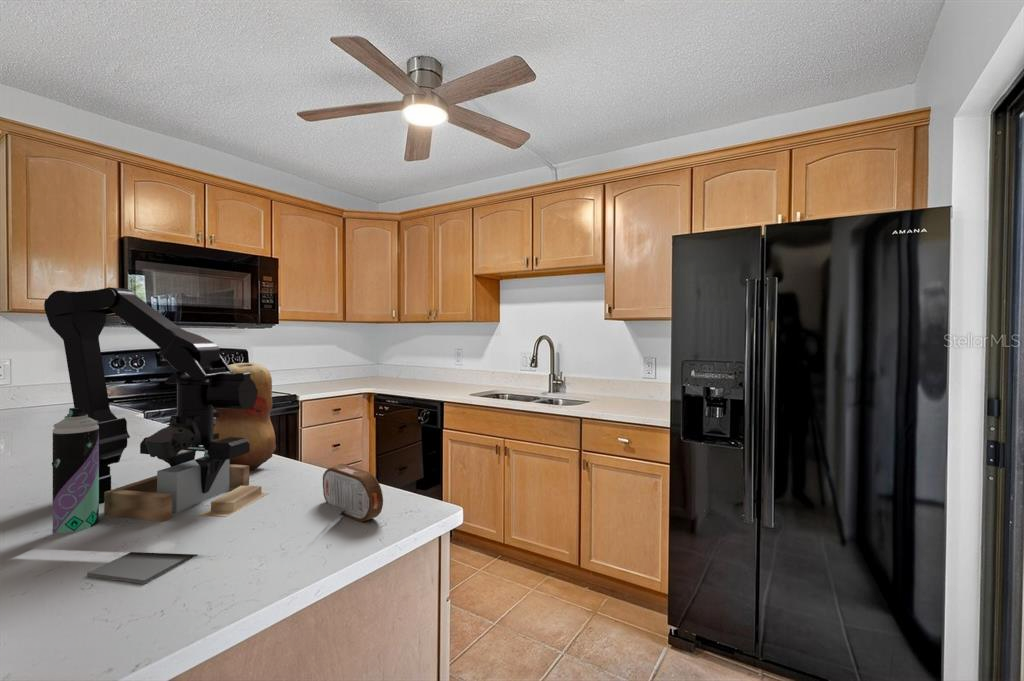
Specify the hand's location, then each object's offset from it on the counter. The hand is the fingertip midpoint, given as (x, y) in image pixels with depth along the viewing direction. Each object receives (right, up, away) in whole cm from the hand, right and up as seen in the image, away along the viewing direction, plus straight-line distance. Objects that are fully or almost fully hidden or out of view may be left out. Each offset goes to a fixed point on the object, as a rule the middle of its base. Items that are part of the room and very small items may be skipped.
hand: (195, 491), depth 90 cm
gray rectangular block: (0, -3, 0) cm, 3 cm away
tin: (+30, -3, -3) cm, 30 cm away
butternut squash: (-3, -2, +21) cm, 22 cm away
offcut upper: (+9, -2, -1) cm, 9 cm away
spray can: (-11, -3, -13) cm, 17 cm away
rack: (-3, -2, +1) cm, 4 cm away
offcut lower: (+9, -3, -2) cm, 9 cm away
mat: (+9, -3, -18) cm, 21 cm away
